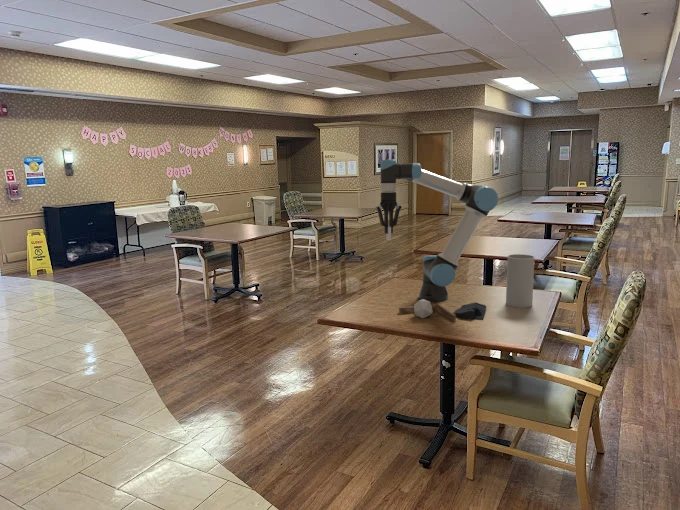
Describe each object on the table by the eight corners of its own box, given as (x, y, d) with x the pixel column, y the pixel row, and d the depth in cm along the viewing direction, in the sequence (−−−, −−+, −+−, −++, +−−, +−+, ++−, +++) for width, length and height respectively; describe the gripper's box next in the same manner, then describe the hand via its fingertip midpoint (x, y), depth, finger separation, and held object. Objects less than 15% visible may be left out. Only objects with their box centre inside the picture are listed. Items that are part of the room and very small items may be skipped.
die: (421, 316, 236) (439, 312, 240) (414, 298, 239) (432, 294, 243) (414, 322, 244) (431, 318, 247) (406, 305, 247) (424, 301, 251)
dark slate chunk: (491, 310, 255) (491, 300, 254) (481, 322, 236) (482, 312, 235) (460, 306, 262) (460, 297, 261) (448, 318, 243) (448, 308, 242)
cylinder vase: (513, 309, 254) (515, 259, 249) (501, 303, 266) (503, 254, 261) (537, 308, 255) (539, 258, 251) (524, 301, 268) (526, 253, 263)
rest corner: (437, 309, 255) (437, 304, 255) (455, 321, 236) (455, 315, 236) (398, 313, 251) (398, 307, 250) (414, 325, 232) (414, 319, 231)
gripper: (398, 191, 257) (398, 238, 261) (373, 192, 254) (373, 239, 258) (403, 191, 250) (404, 240, 254) (378, 192, 247) (378, 241, 251)
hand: (388, 240), depth 256 cm, fingers closed
